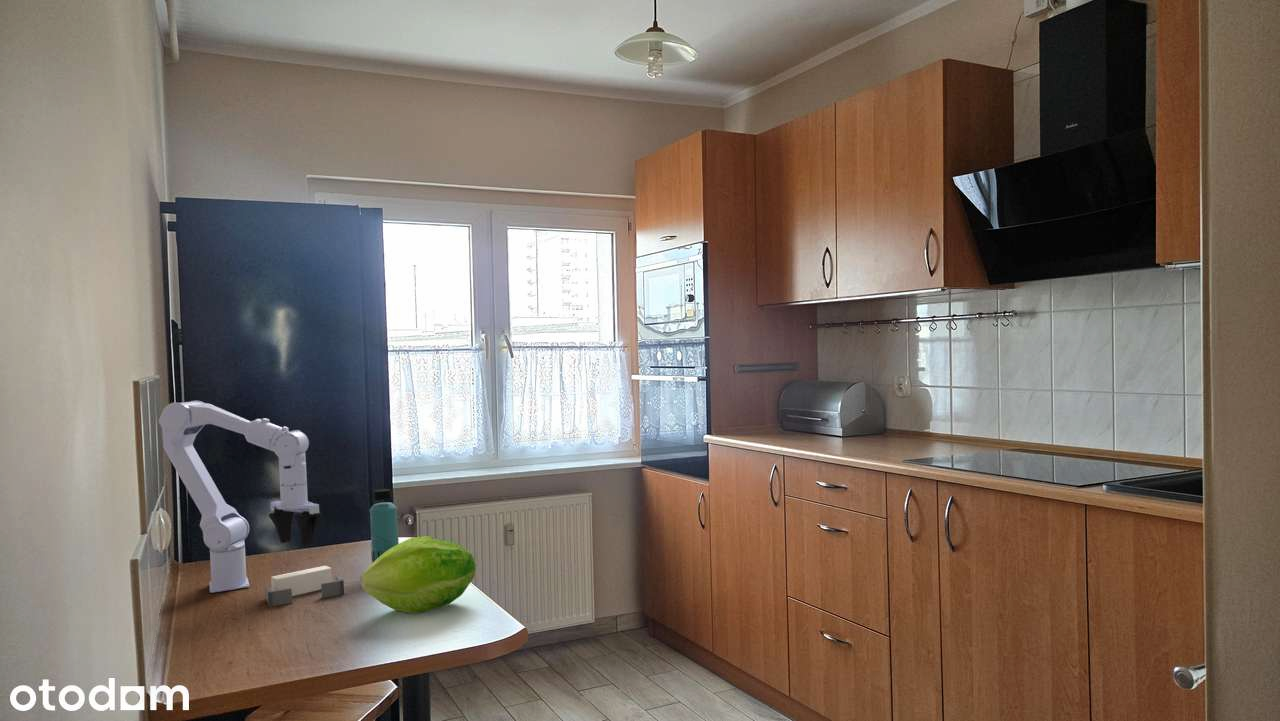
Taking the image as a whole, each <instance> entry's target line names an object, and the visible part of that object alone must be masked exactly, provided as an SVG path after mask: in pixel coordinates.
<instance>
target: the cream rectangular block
mask: <svg viewBox="0 0 1280 721" xmlns="http://www.w3.org/2000/svg"><path fill="white" fill-rule="evenodd" d="M332 571H333V570H332V567H329V566H327V565H321V566H317V567H312V568H307V569H302V570H297V571H293V572H287V573H282V574H278V575H274V576H272V575H271V577H270V584H271V585H270V587H271V590H272V591H276V590H282V589H288V588H291V589H292V597H294V596H299V595H303V594H307V593H312V592H316V591H320V590H321V583H326V582H332V581H333V572H332Z"/></svg>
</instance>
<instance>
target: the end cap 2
mask: <svg viewBox="0 0 1280 721" xmlns="http://www.w3.org/2000/svg"><path fill="white" fill-rule="evenodd" d="M320 593H321V599H325V598H329V597H336V596H340V595H343V596H344V595H345V585H344V579H343V578H342V577H341V575H340V574H335V580H332V582H326V583H321V592H320Z"/></svg>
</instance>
